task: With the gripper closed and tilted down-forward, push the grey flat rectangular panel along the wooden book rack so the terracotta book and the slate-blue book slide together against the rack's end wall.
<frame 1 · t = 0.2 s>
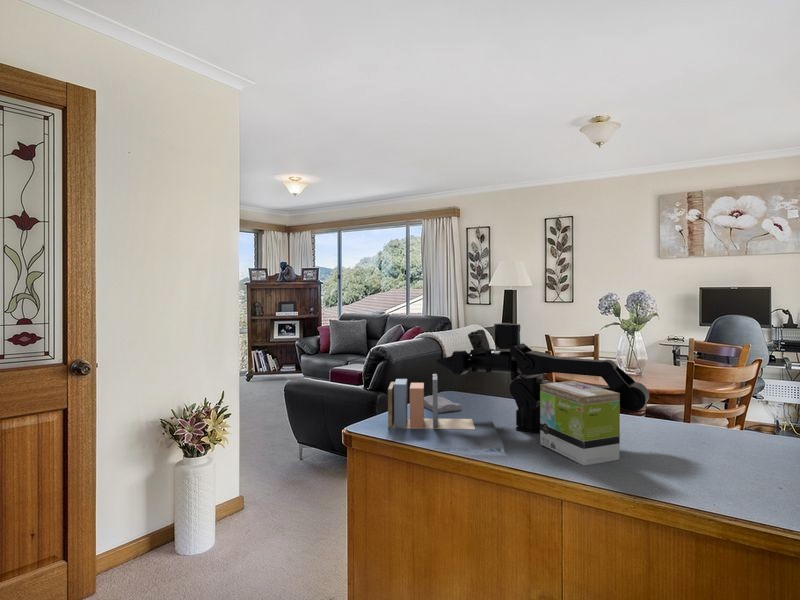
hand: (445, 359, 144), 16 cm above the worktop, tool horizontal, fingers open, 9 cm apart
grey flat rectangular panel: (435, 399, 132), point 7 cm above the worktop, slide at 0.0 cm
wooden book rack: (431, 427, 132), on the worktop
stone block: (442, 412, 151), on the worktop
tea box: (578, 453, 112), on the worktop
book B: (417, 423, 133), point 1 cm above the worktop, touching wooden book rack
book A: (401, 423, 133), point 1 cm above the worktop, touching wooden book rack
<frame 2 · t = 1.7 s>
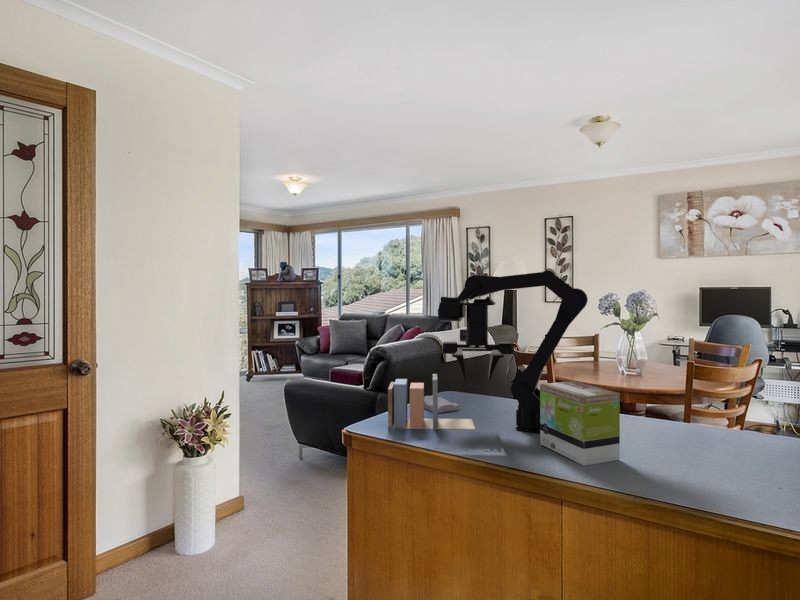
hand: (477, 379, 136), 12 cm above the worktop, tool pointing down, fingers open, 6 cm apart
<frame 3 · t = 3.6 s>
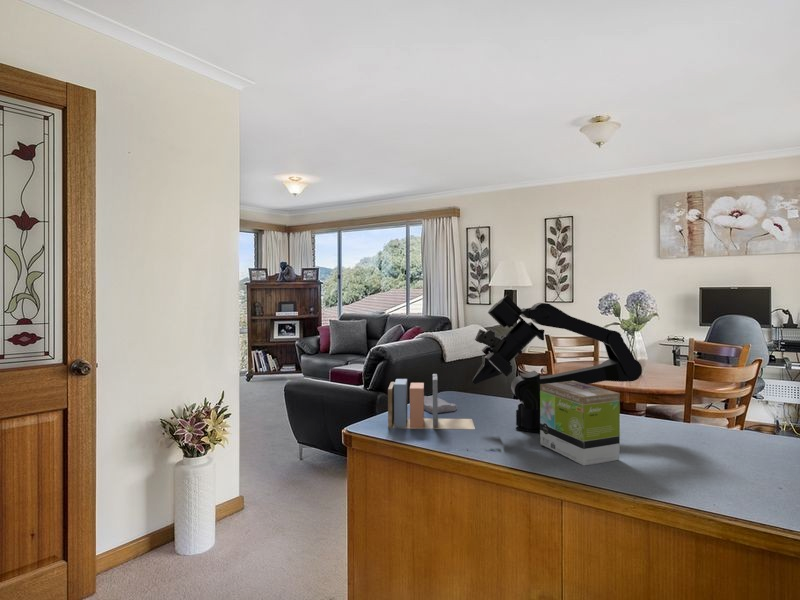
hand: (473, 382, 132), 12 cm above the worktop, tool tilted 45°, fingers closed
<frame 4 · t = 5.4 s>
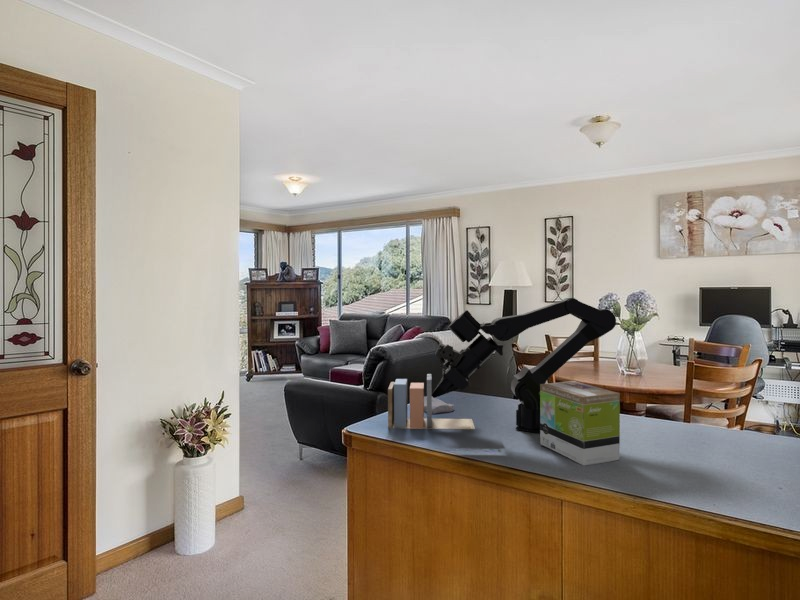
hand: (432, 396, 132), 8 cm above the worktop, tool tilted 45°, fingers closed, pressing on grey flat rectangular panel
grey flat rectangular panel: (429, 399, 132), point 8 cm above the worktop, slide at 1.5 cm, touching gripper
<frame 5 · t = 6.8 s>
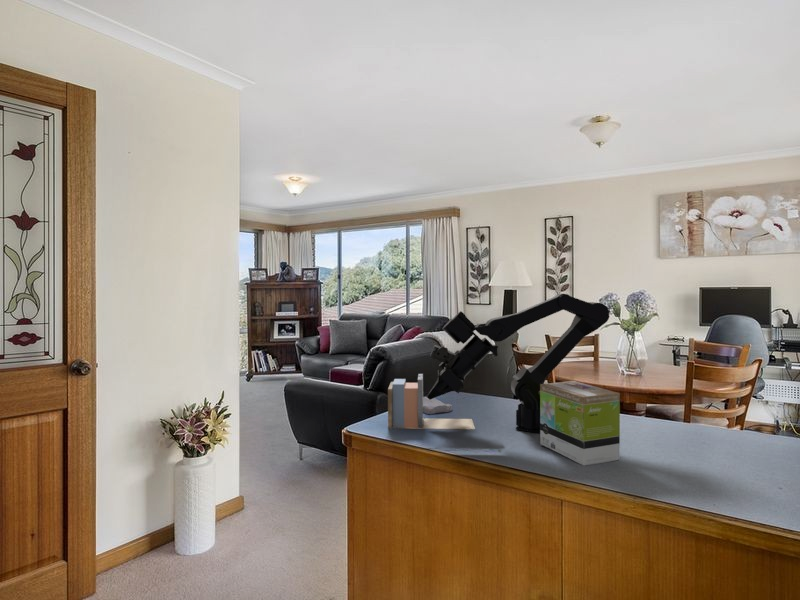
hand: (428, 398, 132), 8 cm above the worktop, tool tilted 45°, fingers closed
grey flat rectangular panel: (420, 399, 132), point 8 cm above the worktop, slide at 3.8 cm, touching book B
book B: (411, 423, 133), point 1 cm above the worktop, touching book A, grey flat rectangular panel, wooden book rack
book A: (399, 423, 133), point 1 cm above the worktop, touching book B, wooden book rack
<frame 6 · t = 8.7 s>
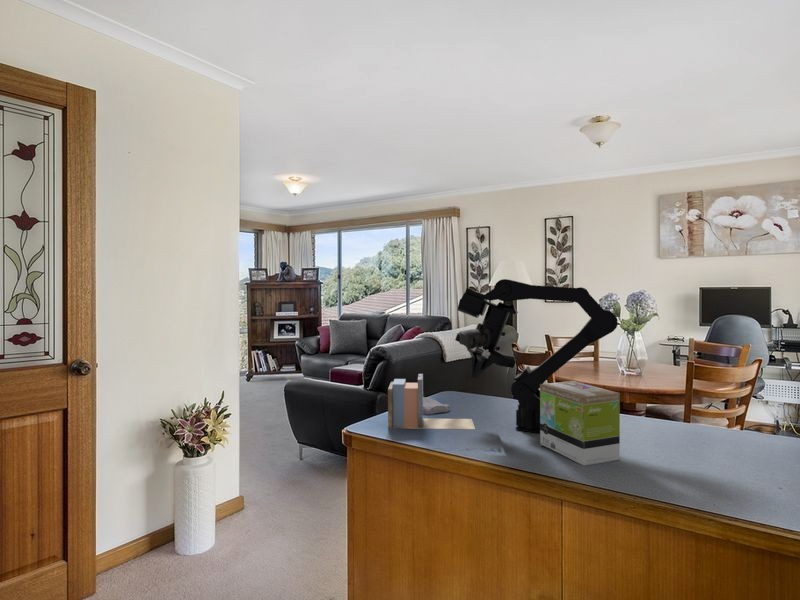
hand: (473, 378, 136), 12 cm above the worktop, tool tilted 20°, fingers closed
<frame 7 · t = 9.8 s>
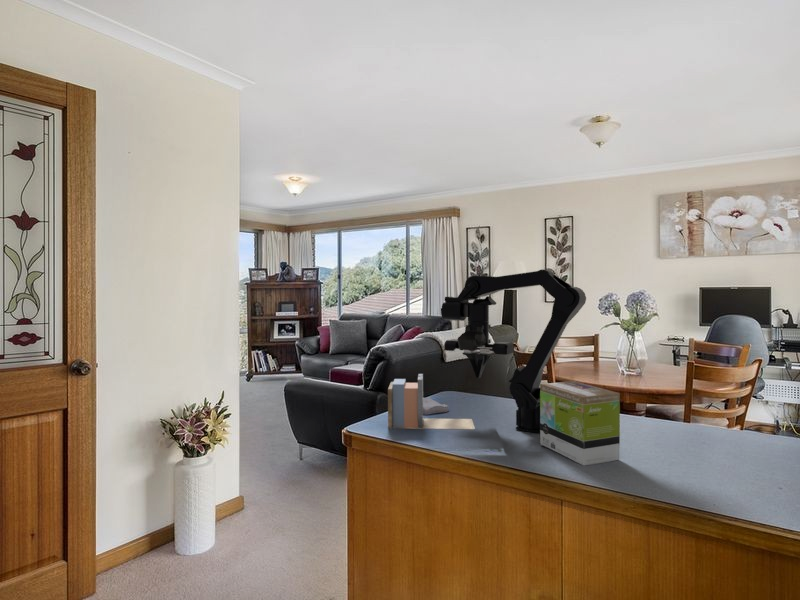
hand: (478, 377, 139), 12 cm above the worktop, tool pointing down, fingers closed
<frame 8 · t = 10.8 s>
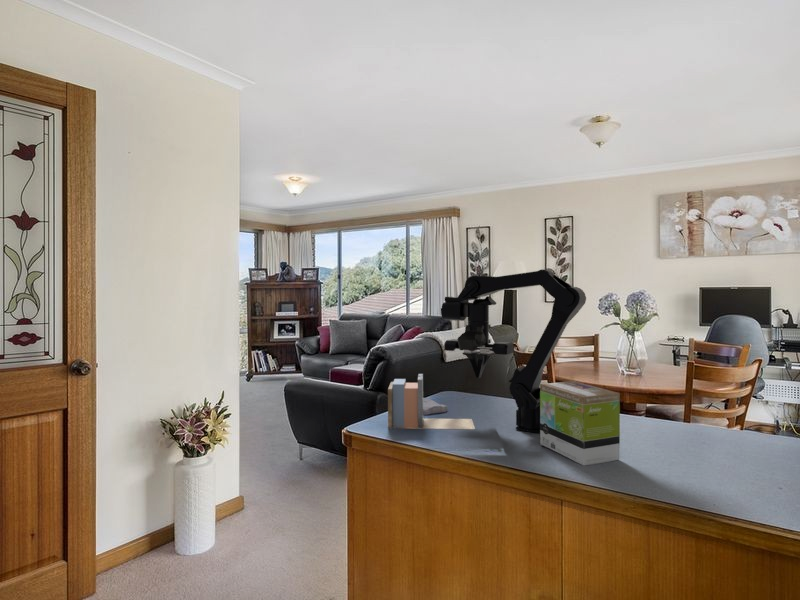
hand: (478, 377, 139), 12 cm above the worktop, tool pointing down, fingers closed
at the end: grey flat rectangular panel slide at 3.8 cm; book B 3.2 cm from the book A (horizontally); book B tilted 0° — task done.
